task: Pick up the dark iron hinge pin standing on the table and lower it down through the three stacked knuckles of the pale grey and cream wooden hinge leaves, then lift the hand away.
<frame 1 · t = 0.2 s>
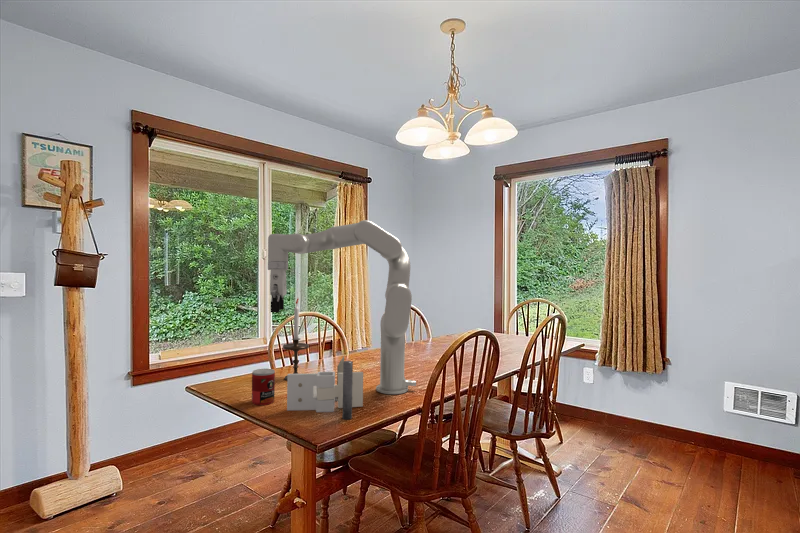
hand: (277, 310, 162), 31 cm above the table, fingers open, 9 cm apart
laptop: (324, 394, 162), on the table
candlestick: (295, 379, 182), on the table
canned food: (263, 402, 151), on the table
leaf a: (325, 409, 144), on the table
leaf b: (340, 390, 145), point 6 cm above the table, hinge at 8.0°
pin: (347, 418, 136), on the table
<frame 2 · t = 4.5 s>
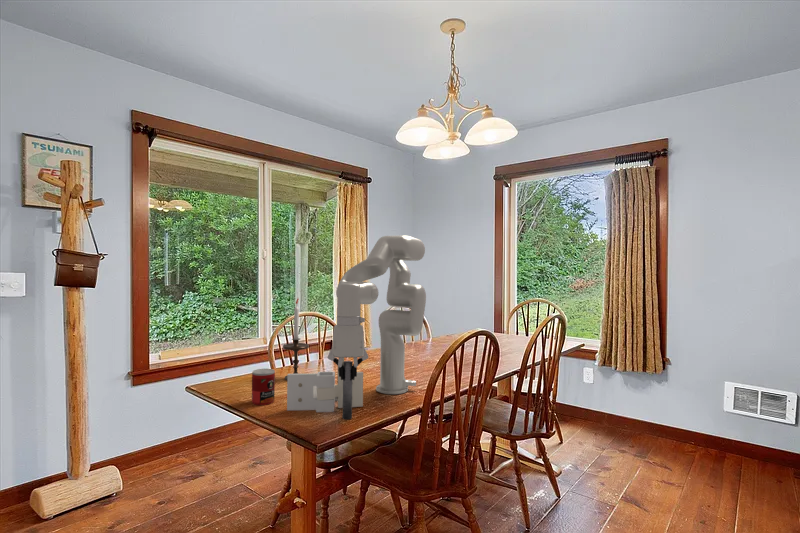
hand: (347, 378, 136), 13 cm above the table, fingers closed on pin, 3 cm apart
pin: (347, 418, 136), on the table, touching gripper
everything else where it was.
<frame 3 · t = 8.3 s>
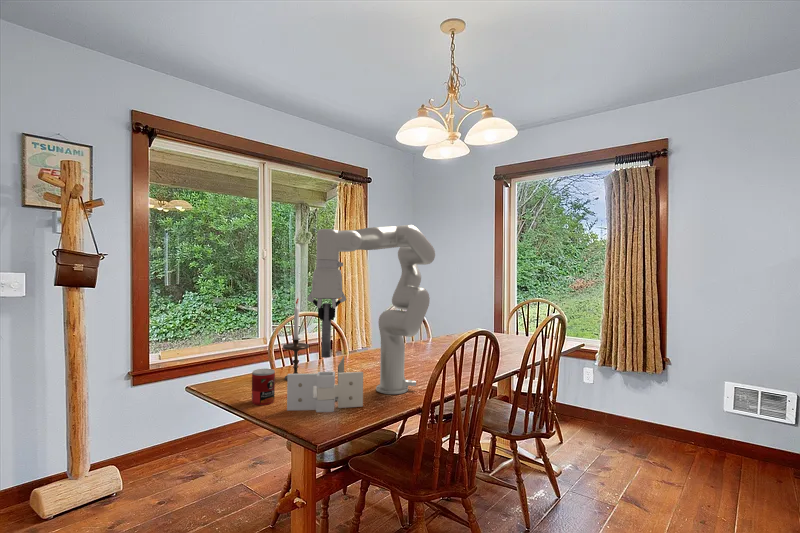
hand: (326, 319, 144), 31 cm above the table, fingers closed on pin, 3 cm apart
pin: (325, 356, 144), point 18 cm above the table, touching gripper
everything else where it was.
when the fingers open (14 cm above the table, at t = 12.2 s): pin drops 1 cm, resting in leaf a.
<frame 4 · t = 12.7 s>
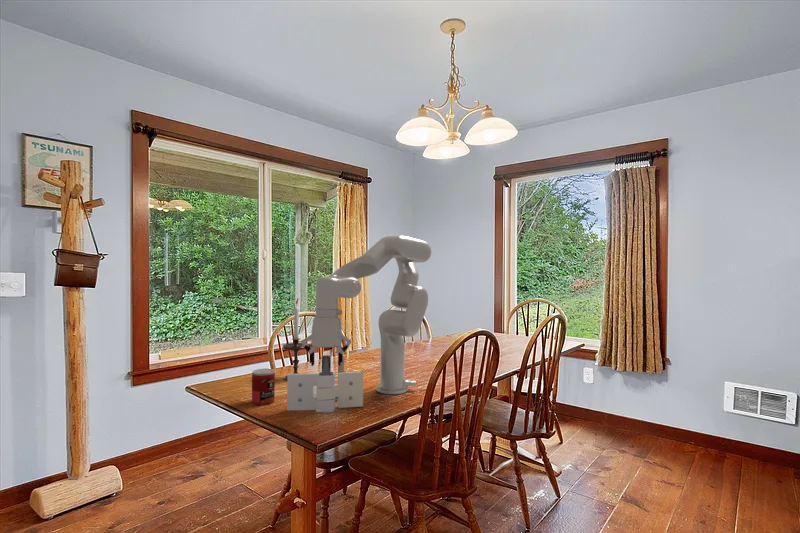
hand: (326, 364, 144), 15 cm above the table, fingers open, 8 cm apart
pin: (325, 409, 144), resting in leaf a
everything else where it was.
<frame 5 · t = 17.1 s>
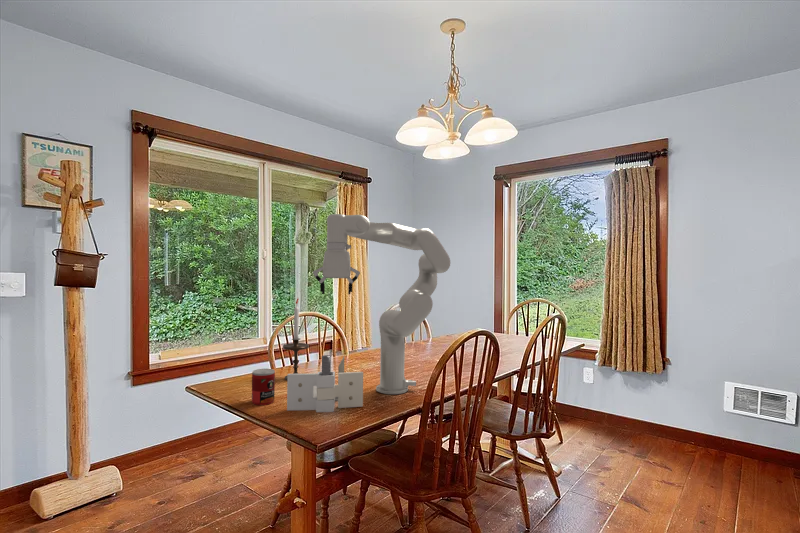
hand: (336, 293, 157), 38 cm above the table, fingers open, 9 cm apart
nothing on the table moved.
at the end: pin 0.0 cm off-centre on the leaf a, point 0.0 cm above the leaf a's base; pin tilted 0°; the gripper is holding nothing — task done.
